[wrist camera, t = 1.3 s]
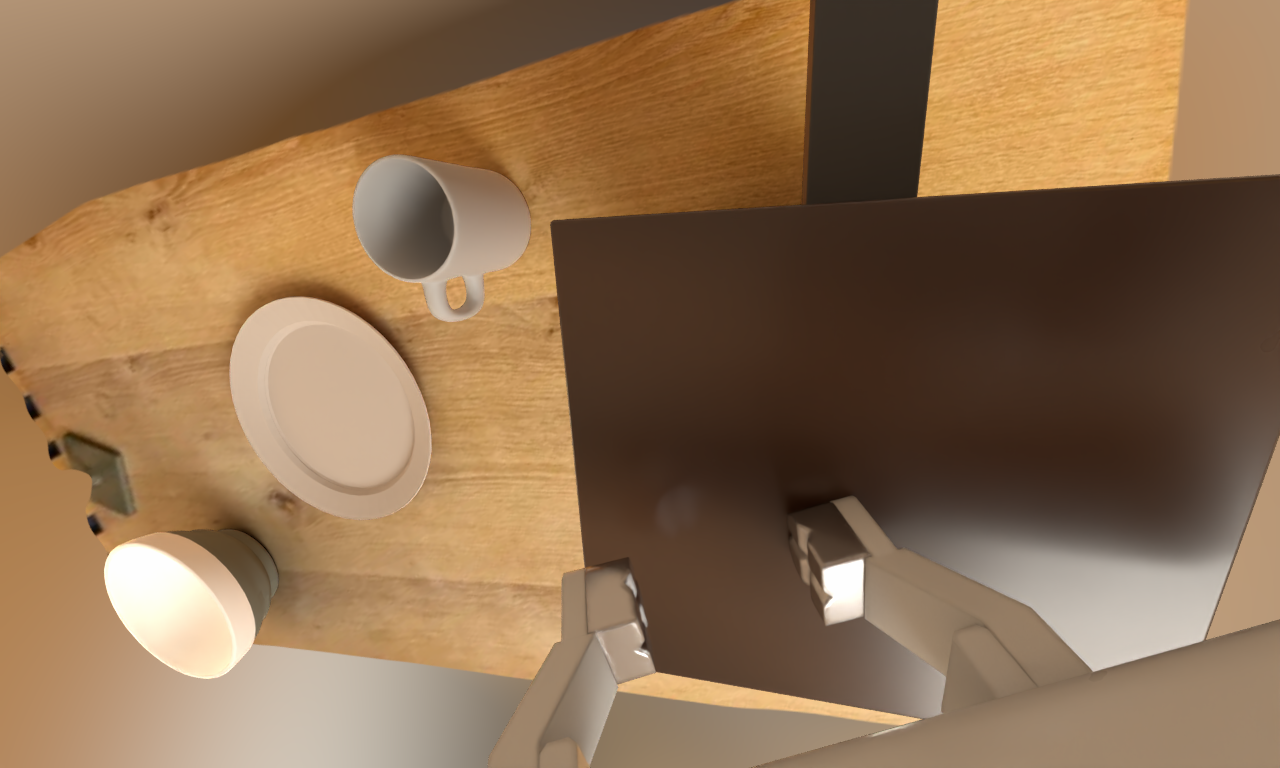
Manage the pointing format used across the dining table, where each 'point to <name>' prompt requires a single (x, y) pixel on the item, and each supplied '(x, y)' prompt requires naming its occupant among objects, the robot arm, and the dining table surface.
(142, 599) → the bowl
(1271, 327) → the stand
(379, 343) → the plate
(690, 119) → the dining table surface
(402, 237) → the mug
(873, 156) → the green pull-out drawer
